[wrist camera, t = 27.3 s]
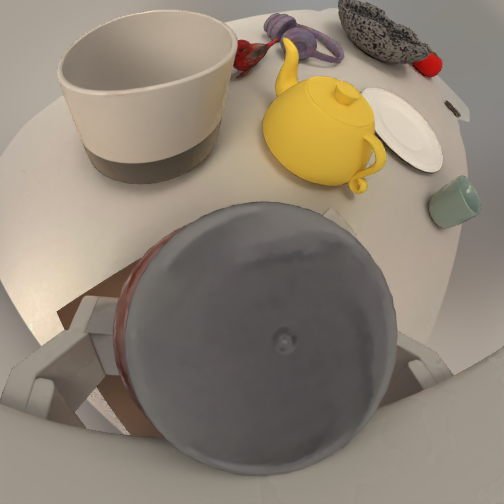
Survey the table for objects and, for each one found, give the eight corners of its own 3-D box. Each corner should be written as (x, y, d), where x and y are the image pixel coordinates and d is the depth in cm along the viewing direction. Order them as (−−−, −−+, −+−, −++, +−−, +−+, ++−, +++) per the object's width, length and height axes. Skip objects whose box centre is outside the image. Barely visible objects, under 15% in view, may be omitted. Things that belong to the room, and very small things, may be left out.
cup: (418, 206, 44) (454, 183, 35) (431, 191, 47) (463, 169, 38) (439, 240, 43) (476, 221, 34) (450, 221, 46) (483, 203, 37)
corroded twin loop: (459, 120, 66) (460, 118, 65) (444, 104, 66) (445, 102, 65) (459, 115, 68) (460, 113, 67) (444, 100, 68) (446, 98, 67)
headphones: (286, 65, 47) (346, 77, 56) (303, 37, 40) (363, 56, 49) (252, 28, 51) (310, 41, 60) (264, 4, 44) (323, 21, 53)
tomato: (436, 87, 70) (452, 69, 59) (411, 70, 68) (427, 51, 57) (426, 70, 74) (441, 54, 63) (402, 55, 72) (416, 37, 61)
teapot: (222, 105, 41) (237, 39, 28) (298, 87, 47) (324, 35, 34) (315, 225, 37) (370, 175, 25) (382, 182, 43) (431, 140, 31)
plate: (335, 96, 48) (339, 90, 46) (390, 89, 57) (394, 84, 55) (412, 191, 45) (418, 187, 43) (449, 161, 53) (454, 157, 52)
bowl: (368, 33, 71) (385, 8, 57) (422, 86, 65) (445, 60, 51) (306, 20, 61) (322, -14, 47) (367, 77, 55) (394, 39, 41)
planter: (169, 85, 40) (174, 0, 23) (243, 147, 39) (276, 51, 22) (73, 140, 33) (41, 54, 17) (133, 224, 32) (96, 129, 15)
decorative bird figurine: (215, 85, 42) (224, 41, 33) (266, 55, 48) (279, 21, 39) (228, 92, 42) (238, 47, 33) (277, 61, 48) (291, 26, 39)
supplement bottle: (136, 310, 13) (2, 241, 3) (231, 259, 15) (320, 105, 5) (194, 407, 12) (216, 565, 2) (287, 351, 14) (469, 362, 4)
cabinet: (246, 369, 30) (269, 382, 21) (159, 423, 26) (148, 456, 17) (177, 266, 32) (173, 239, 23) (91, 318, 27) (56, 311, 18)
